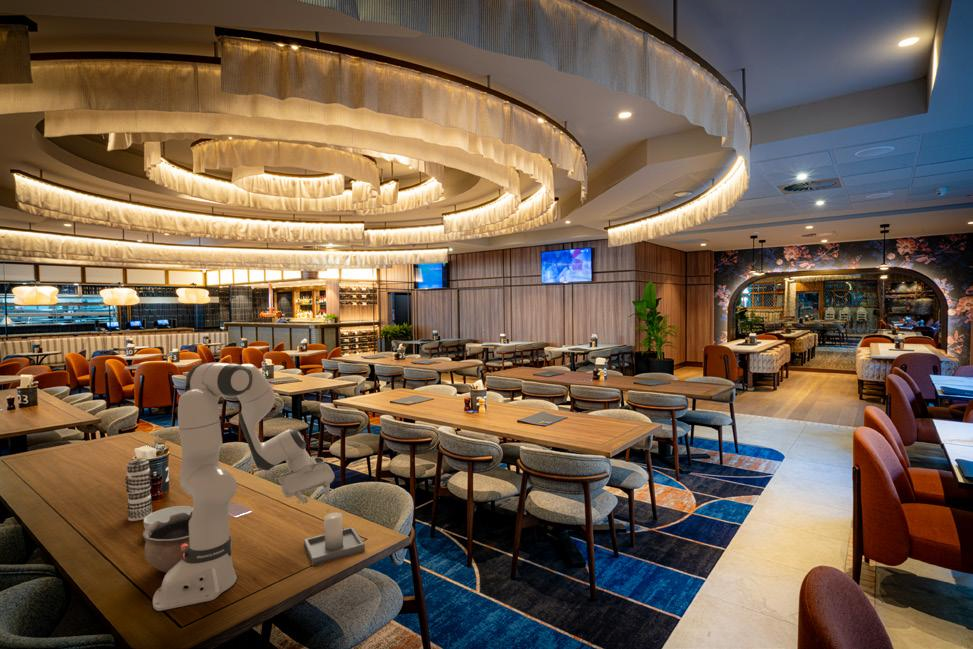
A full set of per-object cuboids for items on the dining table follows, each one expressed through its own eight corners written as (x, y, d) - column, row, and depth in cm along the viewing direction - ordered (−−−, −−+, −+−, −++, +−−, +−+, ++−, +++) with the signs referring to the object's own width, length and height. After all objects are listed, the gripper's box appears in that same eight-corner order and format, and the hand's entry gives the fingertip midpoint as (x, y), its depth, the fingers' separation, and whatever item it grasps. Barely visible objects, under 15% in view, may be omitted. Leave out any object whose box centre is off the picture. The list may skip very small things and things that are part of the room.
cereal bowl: (169, 543, 177) (168, 525, 177) (133, 539, 181) (132, 522, 181) (204, 523, 194) (203, 506, 194) (170, 520, 197) (170, 504, 197)
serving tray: (312, 565, 160) (312, 558, 160) (304, 545, 173) (304, 539, 173) (364, 550, 169) (364, 543, 169) (352, 533, 183) (352, 526, 183)
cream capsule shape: (327, 551, 167) (326, 521, 166) (323, 544, 172) (322, 515, 172) (345, 546, 170) (344, 517, 170) (340, 539, 175) (339, 511, 175)
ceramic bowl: (207, 543, 177) (205, 504, 176) (231, 562, 163) (229, 520, 163) (136, 569, 160) (134, 526, 159) (156, 592, 146) (154, 545, 145)
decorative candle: (158, 512, 206) (156, 456, 205) (141, 521, 197) (138, 463, 196) (139, 511, 207) (137, 456, 206) (121, 520, 198) (118, 462, 197)
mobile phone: (235, 516, 198) (219, 508, 207) (235, 519, 198) (220, 510, 207) (253, 510, 204) (237, 502, 213) (253, 512, 204) (237, 504, 213)
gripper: (279, 470, 172) (294, 503, 167) (327, 456, 189) (342, 485, 183) (273, 480, 175) (288, 512, 170) (321, 465, 192) (336, 494, 186)
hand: (316, 498), depth 176 cm, fingers open, 8 cm apart
